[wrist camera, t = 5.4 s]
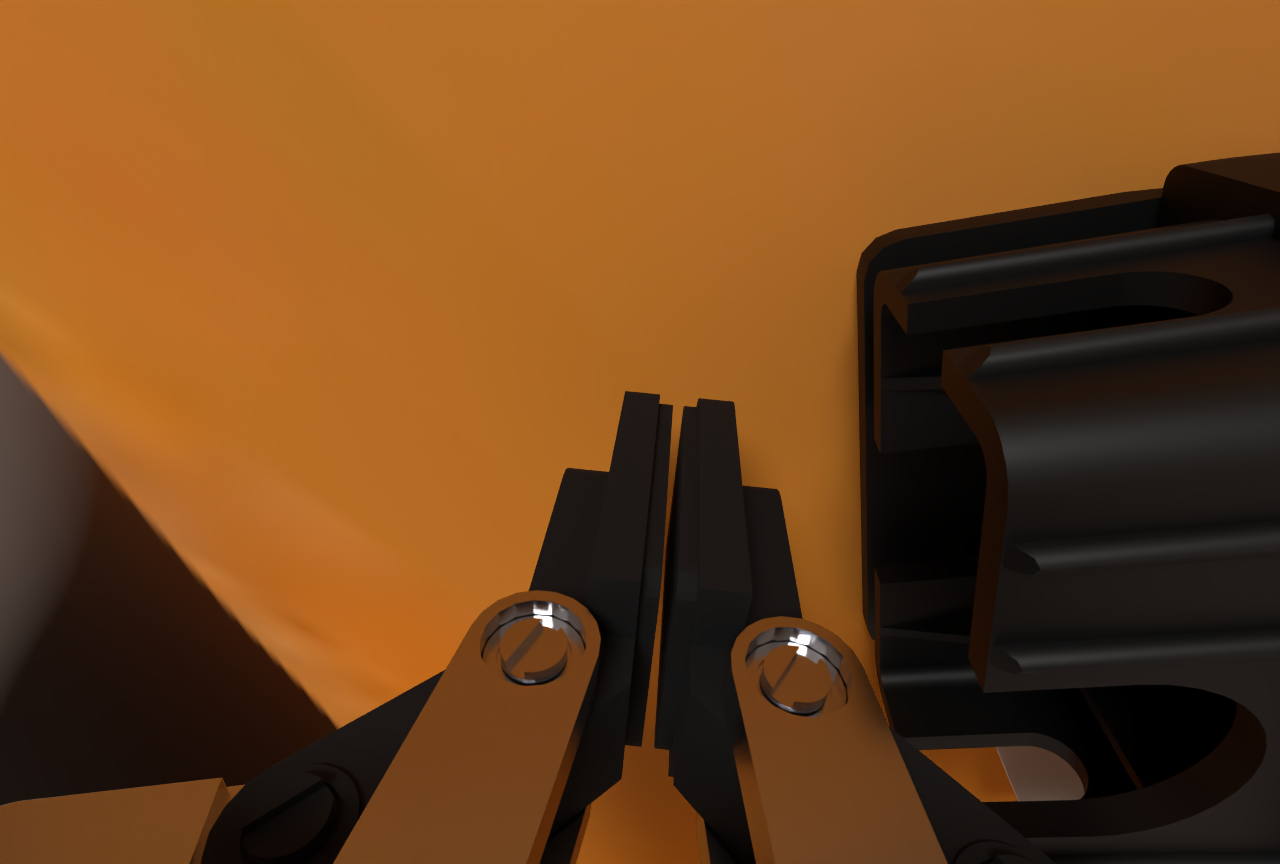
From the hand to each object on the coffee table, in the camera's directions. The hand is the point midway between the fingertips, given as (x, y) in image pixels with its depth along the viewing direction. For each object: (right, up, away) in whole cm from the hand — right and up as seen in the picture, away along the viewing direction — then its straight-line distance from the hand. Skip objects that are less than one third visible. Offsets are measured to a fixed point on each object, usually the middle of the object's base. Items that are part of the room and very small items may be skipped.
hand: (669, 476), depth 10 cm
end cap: (+7, +1, +2) cm, 7 cm away
